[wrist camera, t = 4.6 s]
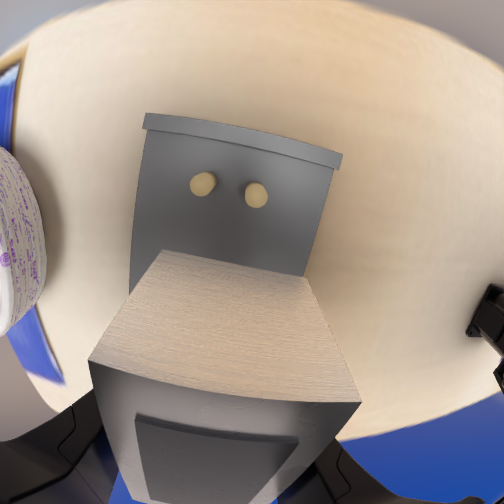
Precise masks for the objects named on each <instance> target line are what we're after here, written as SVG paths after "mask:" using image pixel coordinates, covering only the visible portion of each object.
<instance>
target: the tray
mask: <svg viewBox="0 0 504 504" xmlns="http://www.w3.org/2000/svg"><path fill="white" fill-rule="evenodd" d="M142 129H147V130H148V131H147V135H146V140H145V146H144V151H143V156H142V162H141V168H140V174H139V181H138V188H137V195H136V203H135V212H134V221H133V231H132V243H131V258H130V278H129V295H130V294H131V292H132V291H133V289H134V288H135V287H136V285H137V284H138V282H139V281H140V279H141V278H142V277H143V275H144V274H145V273H146V271H147V270H148V268H149V267H150V266H151V264H152V263H153V262H154V260H155V259H156V258H157V256H158V255H159V254H160V252H161V251H162V250H163V249H165V250H170V251H175V252H180V253H184V254H189V255H194V256H199V257H203V258H208V259H213V260H218V261H223V262H228V263H233V264H238V265H243V266H248V267H253V268H258V269H263V270H268V271H273V272H278V273H283V274H288V275H293V276H298V277H302V276H303V273H304V270H305V267H306V264H307V261H308V258H309V254H310V251H311V248H312V245H313V241H314V238H315V235H316V231H317V228H318V225H319V221H320V218H321V214H322V211H323V207H324V204H325V200H326V197H327V193H328V189H329V186H330V182H331V178H332V174H333V171H334V169H336V170H339V168H340V164H341V160H342V156H343V154H340V153H337V152H334V151H331V150H328V149H325V148H321V147H318V146H315V145H311V144H308V143H304V142H301V141H297V140H293V139H290V138H286V137H282V136H278V135H274V134H270V133H266V132H261V131H257V130H253V129H248V128H243V127H238V126H234V125H228V124H223V123H218V122H212V121H206V120H200V119H193V118H187V117H179V116H171V115H163V114H154V113H146V114H145V118H144V122H143V127H142Z"/></svg>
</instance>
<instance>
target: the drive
mask: <svg viewBox="0 0 504 504" xmlns="http://www.w3.org/2000/svg"><path fill="white" fill-rule="evenodd" d="M88 364H89V370H90V374H91V379H92V383H93V388H94V392H95V396H96V400H97V404H98V408H99V411H100V415H101V418H102V421H103V425H104V428H105V431H106V434H107V437H108V440H109V443H110V446H111V449H112V452H113V454H114V457H115V460H116V462H117V465H118V467H119V470H120V472H121V475H122V477H123V479H124V482H125V484H126V486H127V488H128V490H129V492H130V495H131V497H132V499H133V500H136V501H140V502H144V503H148V504H270V503H271V502H272V501H273V500H274V499H276V498H277V497H278V496H279V495H280V494H281V493H282V492H283V491H284V490H286V489H287V488H288V487H289V486H290V485H291V484H292V483H293V482H294V481H295V480H296V479H297V478H298V477H299V476H300V475H301V474H302V473H303V472H304V471H305V470H306V469H307V468H308V467H309V466H310V465H311V464H312V463H313V461H314V460H315V459H316V458H317V457H318V456H319V455H320V454H321V453H322V452H323V450H324V449H325V448H326V447H327V446H328V445H329V444H330V442H331V441H332V440H333V439H334V438H335V436H336V435H337V434H338V433H339V432H340V430H341V429H342V428H343V427H344V425H345V424H346V423H347V421H348V420H349V419H350V418H351V416H352V415H353V414H354V412H355V411H356V410H357V408H358V407H359V406H360V404H361V403H362V400H361V397H360V395H359V393H358V390H357V388H356V386H355V383H354V381H353V379H352V376H351V374H350V372H349V370H348V367H347V365H346V363H345V360H344V358H343V356H342V354H341V351H340V349H339V347H338V345H337V343H336V340H335V338H334V336H333V334H332V332H331V329H330V327H329V325H328V323H327V321H326V319H325V316H324V314H323V312H322V310H321V308H320V306H319V304H318V302H317V299H316V297H315V295H314V293H313V291H312V289H311V287H310V285H309V283H308V281H307V279H306V278H304V277H298V276H293V275H288V274H283V273H278V272H273V271H268V270H263V269H258V268H253V267H248V266H243V265H238V264H233V263H228V262H223V261H218V260H213V259H208V258H203V257H199V256H194V255H189V254H184V253H180V252H175V251H170V250H165V249H163V250H162V251H161V252H160V254H159V255H158V256H157V258H156V259H155V260H154V262H153V263H152V264H151V266H150V267H149V268H148V270H147V271H146V273H145V274H144V275H143V277H142V278H141V279H140V281H139V282H138V284H137V285H136V287H135V288H134V289H133V291H132V292H131V294H130V295H129V297H128V298H127V299H126V301H125V302H124V304H123V305H122V307H121V308H120V310H119V311H118V313H117V314H116V316H115V317H114V319H113V320H112V322H111V323H110V325H109V326H108V328H107V329H106V331H105V332H104V334H103V336H102V337H101V339H100V340H99V342H98V343H97V345H96V347H95V348H94V350H93V351H92V353H91V355H90V356H89V358H88Z"/></svg>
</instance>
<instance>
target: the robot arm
mask: <svg viewBox="0 0 504 504" xmlns="http://www.w3.org/2000/svg"><path fill="white" fill-rule="evenodd" d="M466 335H467V336H468V337H483V338H484V339H485V340H486V341H487V342H488V343H489V344H490V345H491V346H492V347H493V348H494V349H495V350H496V351H497V352H498V354H499V355H500V356H501V357H502V358H503V359H502V361H501V362H500V364H499V365H498V367H497V368H496V369H495V370H494V372H493V374H494V376H495V378H496V380H497V382H498V384H499V386H500V388H501V390H502V392H503V394H504V287H501V286H498V285H495V284H491V285H490V286H489V287H488V290H487V292H486V294H485V296H484V299H483V301H482V303H481V305H480V307H479V309H478V311H477V313H476V315H475V317H474V319H473V321H472V323H471V325H470V326H469V328H468V330H467V332H466ZM118 471H119V467H118V465H117V462H116V460H115V457H114V454H113V452H112V449H111V446H110V443H109V440H108V437H107V434H106V431H105V428H104V425H103V421H102V418H101V415H100V411H99V408H98V404H97V400H96V396H95V392H94V388H93V389H92V390H91V391H89V392H88V393H87V394H85V395H84V396H83V397H81V398H80V399H79V400H77V401H76V402H75V403H73V404H72V406H69V407H68V408H67V409H65V410H64V411H62V412H61V413H60V414H58V415H57V416H55V417H54V418H52V419H51V420H49V421H47V422H45V423H44V424H42V425H40V426H38V427H37V428H35V429H33V430H31V431H29V432H27V433H25V434H23V435H21V436H19V437H17V438H15V439H12V440H9V441H0V504H108V502H109V499H110V496H111V492H112V489H113V486H114V483H115V480H116V477H117V474H118ZM277 501H278V504H484V503H485V501H484V500H483V499H481V498H479V497H474V496H468V497H466V498H464V499H462V500H461V501H459V502H455V503H440V502H431V501H424V500H417V499H411V498H405V497H401V496H398V495H396V494H394V493H392V492H391V491H390V490H388V489H387V488H386V487H384V486H383V485H382V484H381V483H380V482H378V481H377V480H376V479H375V478H374V477H373V476H371V475H370V474H369V473H368V472H367V471H365V469H364V468H362V467H361V466H360V465H359V464H358V463H357V462H356V461H355V460H354V459H353V458H352V456H351V455H349V453H348V452H347V451H346V450H345V449H344V448H342V445H341V444H340V443H339V442H338V441H337V440H336V438H334V439H333V440H332V441H331V442H330V444H329V445H328V446H327V447H326V448H325V449H324V450H323V452H322V453H321V454H320V455H319V456H318V457H317V458H316V459H315V460H314V461H313V463H312V464H311V465H310V466H309V467H308V468H307V469H306V470H305V471H304V472H303V473H302V474H301V475H300V476H299V477H298V478H297V479H296V480H295V481H294V482H293V483H292V484H291V485H290V486H289V487H288V488H287V489H286V490H284V491H283V492H282V493H281V494H280V495H279V496H278V497H277ZM493 504H504V496H503V497H502V498H500V499H499V500H497V501H496V502H495V503H493Z"/></svg>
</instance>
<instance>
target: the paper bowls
mask: <svg viewBox="0 0 504 504" xmlns="http://www.w3.org/2000/svg"><path fill="white" fill-rule="evenodd" d="M46 268H47V257H46V250H45V239H44V230H43V225H42V219H41V214H40V210H39V207H38V203H37V201H36V198H35V196H34V193H33V190H32V187H31V185H30V182H29V180H28V179H27V177H26V175H25V173H24V171H23V170H22V167H21V166H20V165H19V163H18V161H17V160H15V157H13V156H11V154H10V153H9V152H8V151H7V150H6V149H4V148H3V147H0V337H1V336H3V335H4V334H5V333H6V332H7V331H8V330H9V329H10V328H11V327H12V326H13V325H14V324H15V323H16V322H17V321H19V320H20V319H21V318H22V317H23V315H24V314H25V313H27V312H28V311H29V310H30V309H31V308H32V307H33V306H34V304H35V303H36V302H37V300H38V299H39V297H40V295H41V293H42V290H43V287H44V284H45V280H46Z"/></svg>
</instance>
